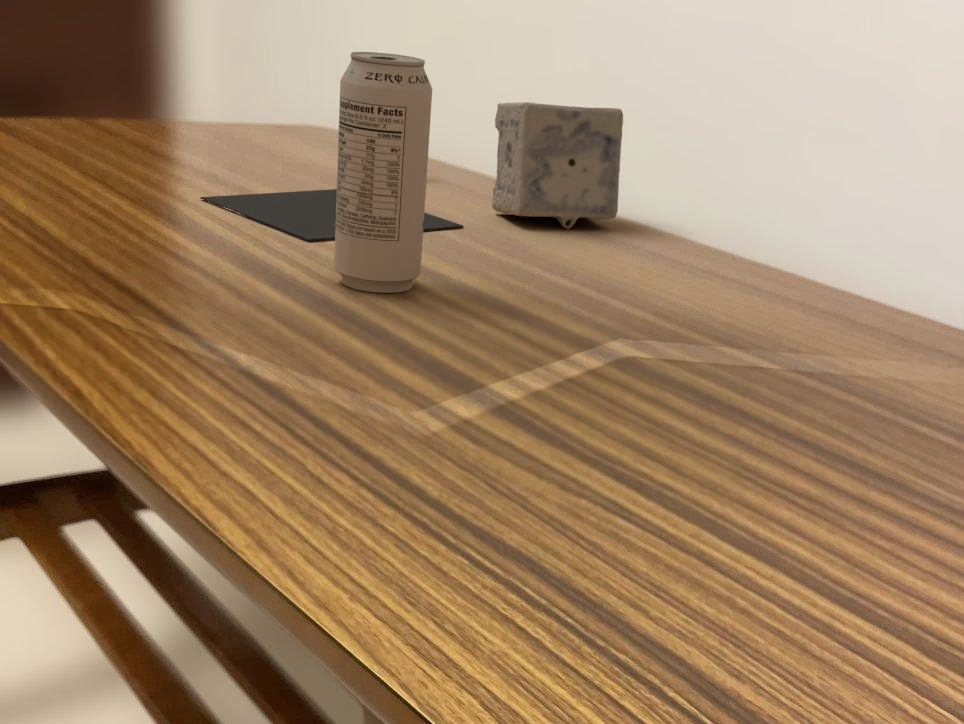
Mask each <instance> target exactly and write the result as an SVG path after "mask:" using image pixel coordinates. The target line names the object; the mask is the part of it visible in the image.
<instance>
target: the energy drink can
mask: <svg viewBox="0 0 964 724" xmlns="http://www.w3.org/2000/svg"><path fill="white" fill-rule="evenodd" d="M350 58H351V59H350V62H349V64H348V66H347V68H346V70H345V71H344V73H343V75H342V76H341V78H340V81H339V82H340V83H339V110H338V112H339V113H338V115H339V116H338V141H337V142H338V143H337V148H338V149H337V171H336V172H337V173H336V189H337V198H336V228H335V240H334V261H333V262H334V264H333V267H334V270H335V271H336V272H338V273H339V274H340V275H341V283H342V284H343V285H345V286H346V287H348V288H351V289H353V290H358V291H363V292H368V293H376V294H377V293H379V294H394V293H395V294H396V293H401V292H406V291H409V290H411V289H412V288H413V282H414V281H415V280H416V279H417V278H419V277H420V276H421V271H422V257H423V242H424V231H423V227H424V212H425V210H426V194H427V179H428V165H429V164H428V163H429V147H430V134H431V133H430V131H431V115H432V100H433V87H432V85H431V82H430V80H429V78H428V75H427V73H426V70H425V65H426V60H425V59H423V58H419V57H415V56H411V55H410V56H409V55H403V54H395V53H388V52H387V53H386V52H373V51H352V52H351V53H350ZM425 213H426V212H425Z"/></svg>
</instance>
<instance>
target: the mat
mask: <svg viewBox="0 0 964 724" xmlns="http://www.w3.org/2000/svg"><path fill="white" fill-rule="evenodd" d="M336 198H337V188H333V189H332V188H331V189H315V190H300V191H299V190H298V191H297V190H296V191H283V192H279V191H278V192H265V193H249V194H248V193H247V194H230V195H229V194H228V195H215V196H212V195H211V196H200V200H201V199H204V200H206V201H209V202H211V203H214V204H216V205H219V206H222V207H225V208H228V209H231V210H233V211H235V212H238V213H240V214H242V215H244V216H246V217H245V218H247V217H248V218H247V219H249V218H250V220H252V221H254V222H257V223H259V222H260V224H262V225H264V224H265V225H264V226H267V227H270V228H272V229H275V230H277V231H280V232H282V233H285V234H287V235H290V236H293V237H295V238H298V239H300V240H303V241H305V242H307V243H311V242H313V243H314V242H322V241H323V242H324V241H335V228H336ZM206 201H205V202H206ZM209 202H208V203H209ZM211 203H210V204H211ZM214 204H213V205H214ZM216 205H215V206H216ZM219 206H218V207H219ZM242 215H241V216H242ZM244 216H243V217H244ZM463 228H464V225H463V224H460V223H457V222H454V221H451V220H448V219H445V218H442V217H439V216H437V215H433V214H431V213H427V212H424V227H423V232H432V231H433V232H434V231H443V230H444V231H445V230H455V229H463Z"/></svg>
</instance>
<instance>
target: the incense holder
mask: <svg viewBox="0 0 964 724" xmlns="http://www.w3.org/2000/svg"><path fill="white" fill-rule="evenodd" d="M494 121H495V122H494V128H495V129H497V131H498V141H497V153H496V158H497V162H496V180H495V182H494V186H493V190H492V199H491V207H492V210H494V211H495V212H498V213H501V214H507V215H509V214H510V215H513V216H518V217H536V218H538V217H543V218H545V217H547V218H555V219H556V220H557V221H558V223H559V224H560V225H561V226H562V227H563V228H564V229H568V230H569V229H571V228H572V227H573V226H575V223H576V222H577V221H578V219H580V218H583V219H594V220H595V219H596V220H597V219H598V220H613V219H616V217H617V214H618V211H619V210H618V209H619V188H620V187H619V186H620V172H621V151H622V140H623V127H624V126H623V125H624V113H623V110H622V109H621V108H615V107H585V106H584V107H583V106H568V105H560V104H559V105H558V104H549V103H548V104H547V103H537V102H530V101H529V102H528V101H527V102H526V101H523V102H499V103H497V110H496V114H495V118H494Z"/></svg>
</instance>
